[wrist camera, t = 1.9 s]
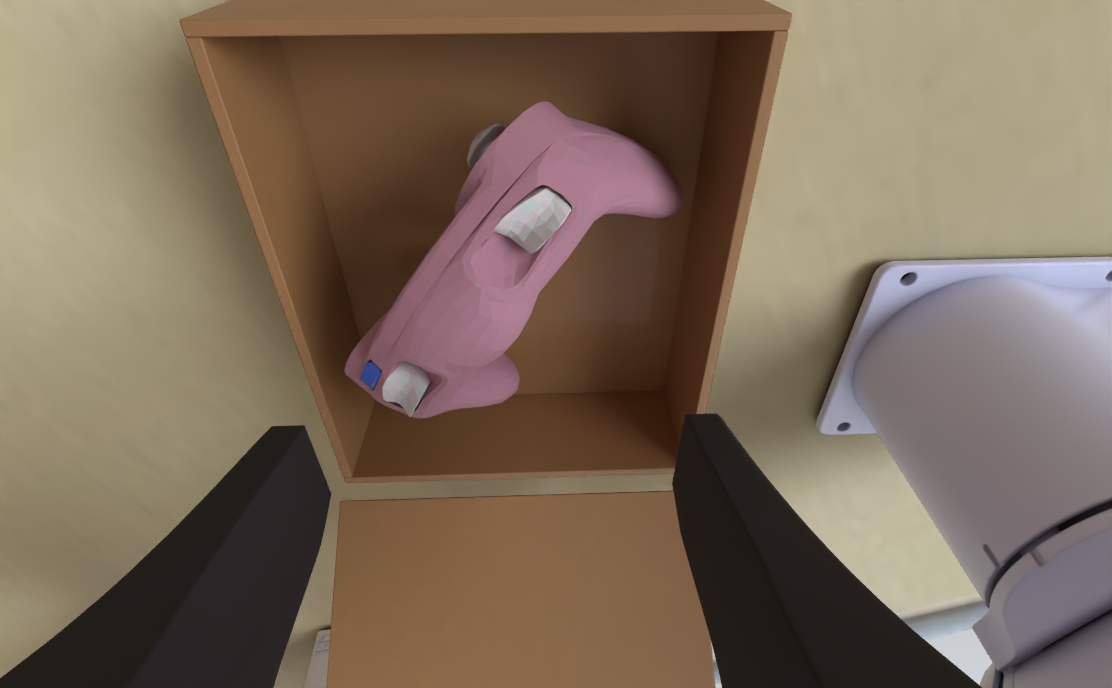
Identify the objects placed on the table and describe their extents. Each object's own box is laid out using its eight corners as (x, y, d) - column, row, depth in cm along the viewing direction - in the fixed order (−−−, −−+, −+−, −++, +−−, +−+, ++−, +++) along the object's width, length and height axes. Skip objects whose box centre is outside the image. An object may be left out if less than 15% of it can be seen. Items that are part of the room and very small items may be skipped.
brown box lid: (719, 724, 17) (715, 720, 17) (696, 489, 19) (693, 490, 19) (321, 740, 17) (326, 735, 17) (339, 501, 19) (343, 501, 19)
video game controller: (585, 76, 17) (473, 57, 10) (703, 183, 17) (660, 226, 10) (423, 310, 21) (282, 390, 15) (514, 393, 21) (409, 507, 15)
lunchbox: (734, -15, 14) (793, 13, 11) (669, 390, 23) (692, 473, 19) (259, -11, 14) (178, 19, 11) (371, 398, 22) (345, 483, 19)
